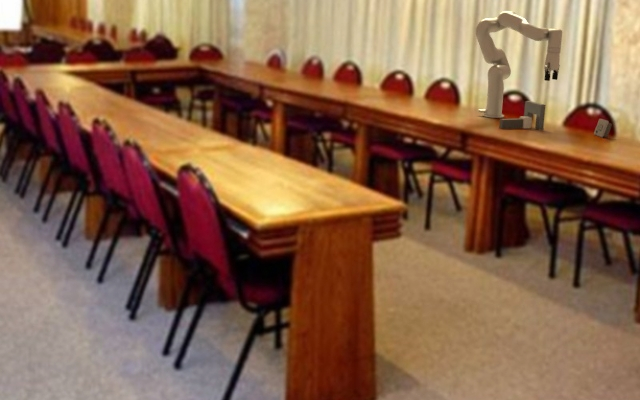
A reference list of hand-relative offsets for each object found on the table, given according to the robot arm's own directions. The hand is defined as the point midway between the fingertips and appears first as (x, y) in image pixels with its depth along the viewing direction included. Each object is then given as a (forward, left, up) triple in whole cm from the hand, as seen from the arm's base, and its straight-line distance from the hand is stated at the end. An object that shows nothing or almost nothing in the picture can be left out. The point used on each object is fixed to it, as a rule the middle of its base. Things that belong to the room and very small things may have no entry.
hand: (550, 80), depth 508 cm
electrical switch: (+27, -35, -26) cm, 51 cm away
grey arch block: (-9, -18, -26) cm, 32 cm away
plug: (-19, -24, -26) cm, 40 cm away
